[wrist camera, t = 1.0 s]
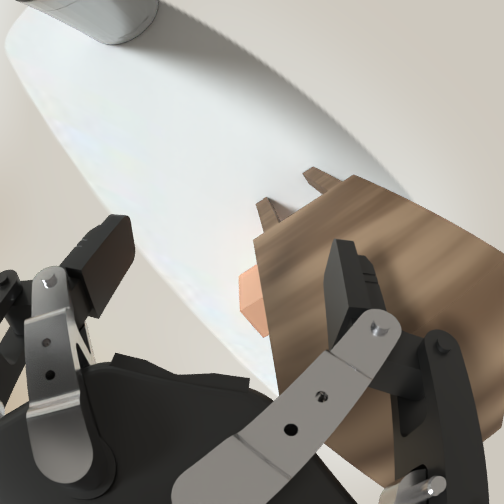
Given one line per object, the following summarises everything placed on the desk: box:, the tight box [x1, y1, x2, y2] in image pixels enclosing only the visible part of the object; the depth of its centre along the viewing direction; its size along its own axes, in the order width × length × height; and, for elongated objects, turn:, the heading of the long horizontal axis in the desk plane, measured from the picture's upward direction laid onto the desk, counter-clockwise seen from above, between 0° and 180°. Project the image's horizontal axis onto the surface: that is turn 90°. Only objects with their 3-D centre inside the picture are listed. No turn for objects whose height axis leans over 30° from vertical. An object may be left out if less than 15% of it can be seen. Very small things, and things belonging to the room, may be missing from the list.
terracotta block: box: [239, 265, 269, 338], centre depth 36 cm, size 4×9×8 cm, turn 124°
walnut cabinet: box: [253, 167, 504, 488], centre depth 25 cm, size 18×11×28 cm, turn 34°
